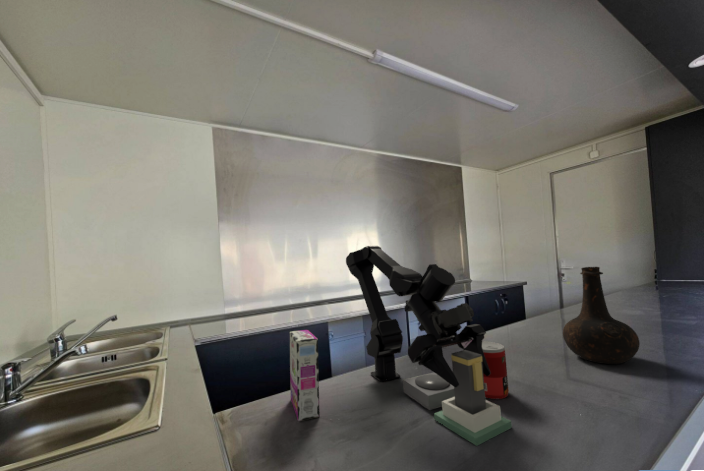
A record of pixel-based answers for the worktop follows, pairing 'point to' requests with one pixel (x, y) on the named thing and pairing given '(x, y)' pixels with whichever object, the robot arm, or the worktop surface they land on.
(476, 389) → the dark grey tall block
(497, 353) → the canned food
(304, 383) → the candy bar box
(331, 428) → the worktop surface
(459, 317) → the robot arm
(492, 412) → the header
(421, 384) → the grey domed square block
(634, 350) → the glass bottle
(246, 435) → the worktop surface
